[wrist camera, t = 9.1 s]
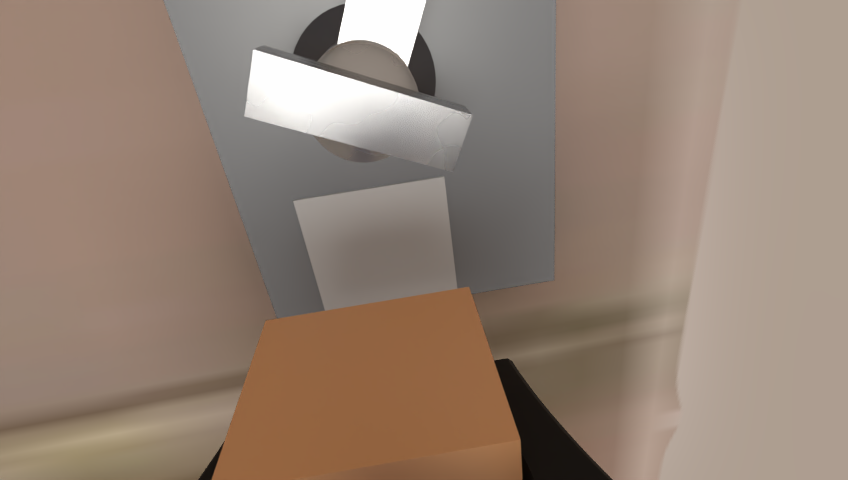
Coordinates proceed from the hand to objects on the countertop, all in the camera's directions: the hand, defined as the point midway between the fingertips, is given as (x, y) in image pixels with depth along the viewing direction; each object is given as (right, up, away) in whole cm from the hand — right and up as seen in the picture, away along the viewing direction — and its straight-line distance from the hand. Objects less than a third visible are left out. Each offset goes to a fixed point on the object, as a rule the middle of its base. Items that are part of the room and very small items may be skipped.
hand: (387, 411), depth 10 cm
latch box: (-1, +8, +6) cm, 10 cm away
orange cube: (0, +1, +1) cm, 1 cm away
